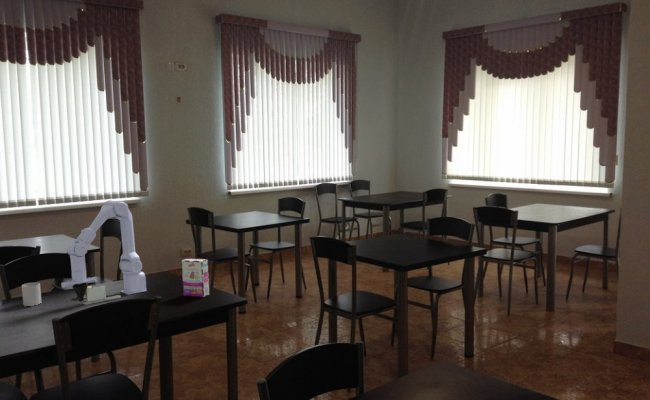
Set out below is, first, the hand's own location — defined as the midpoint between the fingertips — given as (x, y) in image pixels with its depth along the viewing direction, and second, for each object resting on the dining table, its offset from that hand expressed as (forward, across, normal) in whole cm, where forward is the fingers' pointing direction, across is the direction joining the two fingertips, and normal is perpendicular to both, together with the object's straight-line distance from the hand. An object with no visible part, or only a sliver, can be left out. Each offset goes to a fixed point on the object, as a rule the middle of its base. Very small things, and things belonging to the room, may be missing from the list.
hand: (80, 300), depth 260 cm
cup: (+2, +15, -19) cm, 24 cm away
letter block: (+2, -7, -12) cm, 14 cm away
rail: (+2, -9, 0) cm, 9 cm away
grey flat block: (+2, -7, 0) cm, 7 cm away
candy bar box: (+2, -43, +23) cm, 49 cm away
